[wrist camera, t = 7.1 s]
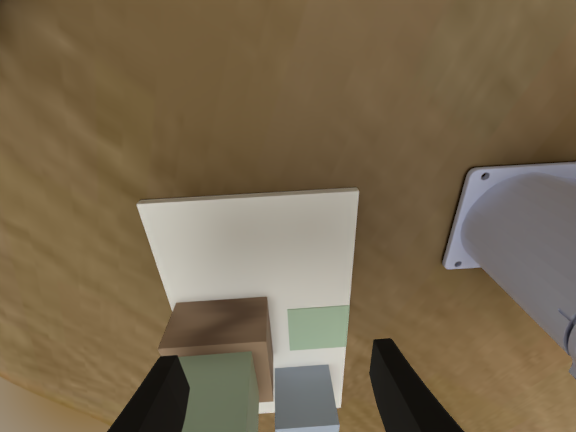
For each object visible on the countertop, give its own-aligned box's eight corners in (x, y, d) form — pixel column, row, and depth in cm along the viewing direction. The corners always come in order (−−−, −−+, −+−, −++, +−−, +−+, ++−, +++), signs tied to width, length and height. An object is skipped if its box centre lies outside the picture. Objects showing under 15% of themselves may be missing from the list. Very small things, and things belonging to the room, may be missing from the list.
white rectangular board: (356, 187, 19) (359, 191, 18) (339, 401, 31) (340, 408, 30) (140, 199, 18) (135, 205, 18) (209, 411, 30) (207, 418, 30)
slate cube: (328, 364, 27) (339, 424, 22) (327, 394, 29) (336, 454, 25) (274, 368, 26) (275, 429, 22) (277, 398, 29) (278, 459, 25)
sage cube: (251, 351, 19) (245, 438, 15) (259, 394, 21) (255, 480, 17) (176, 357, 19) (147, 446, 15) (192, 399, 21) (171, 487, 17)
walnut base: (267, 296, 22) (266, 341, 19) (273, 354, 26) (273, 401, 22) (176, 302, 22) (157, 348, 18) (194, 359, 25) (181, 408, 22)
